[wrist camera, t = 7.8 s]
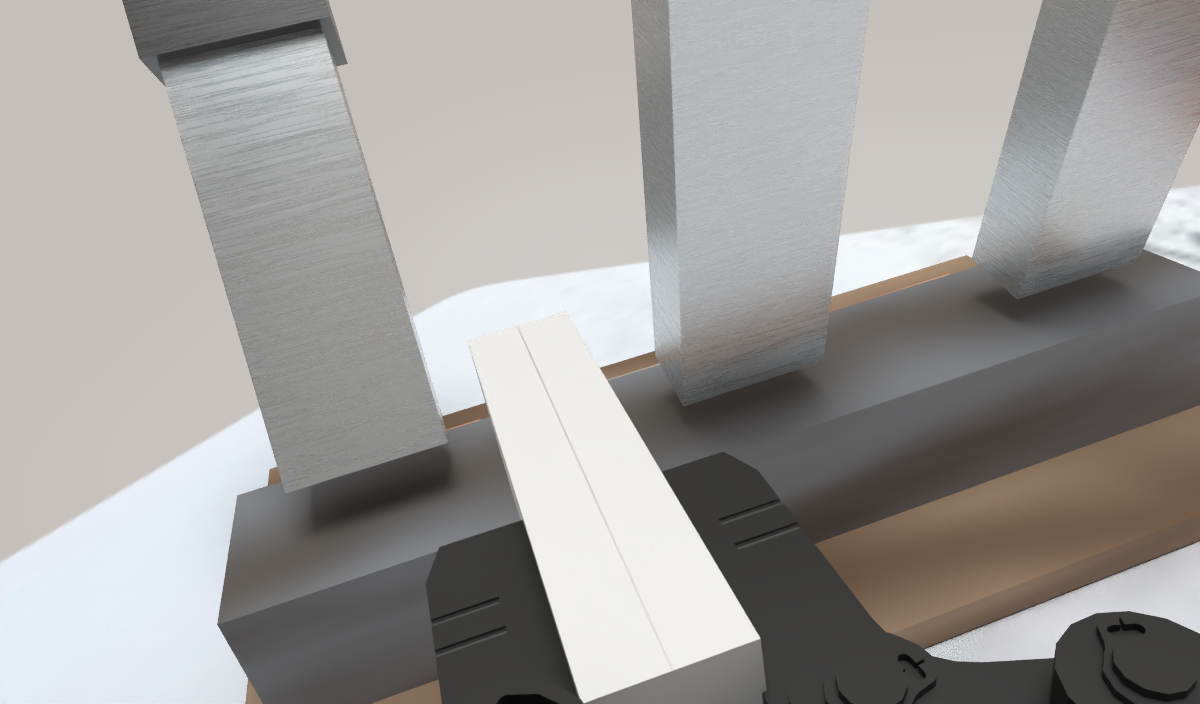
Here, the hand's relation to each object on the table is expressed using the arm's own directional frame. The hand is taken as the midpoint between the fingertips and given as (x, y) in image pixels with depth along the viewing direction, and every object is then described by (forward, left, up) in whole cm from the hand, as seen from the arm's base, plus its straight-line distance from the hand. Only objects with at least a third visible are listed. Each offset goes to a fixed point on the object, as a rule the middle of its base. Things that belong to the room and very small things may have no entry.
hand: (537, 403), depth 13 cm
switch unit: (+3, +11, -11) cm, 16 cm away
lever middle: (+3, +9, -6) cm, 11 cm away
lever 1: (-6, +6, -6) cm, 10 cm away
